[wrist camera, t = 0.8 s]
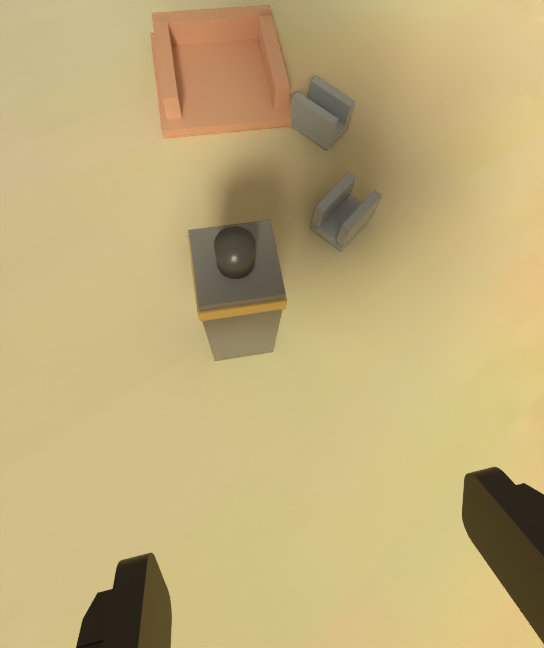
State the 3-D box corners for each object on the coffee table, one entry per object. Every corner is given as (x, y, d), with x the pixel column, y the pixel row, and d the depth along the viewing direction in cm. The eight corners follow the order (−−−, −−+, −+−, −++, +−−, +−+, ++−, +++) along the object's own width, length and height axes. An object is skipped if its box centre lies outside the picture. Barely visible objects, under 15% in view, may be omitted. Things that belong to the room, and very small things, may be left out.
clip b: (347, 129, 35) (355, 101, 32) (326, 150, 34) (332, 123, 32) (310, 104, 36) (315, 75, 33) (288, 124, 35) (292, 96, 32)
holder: (295, 125, 35) (299, 97, 32) (163, 138, 34) (156, 110, 31) (272, 32, 38) (274, 1, 36) (152, 41, 37) (145, 9, 35)
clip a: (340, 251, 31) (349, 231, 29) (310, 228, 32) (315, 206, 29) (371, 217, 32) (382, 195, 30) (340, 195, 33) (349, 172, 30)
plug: (213, 362, 28) (191, 295, 17) (205, 305, 29) (180, 208, 18) (274, 353, 28) (291, 281, 17) (264, 297, 30) (273, 197, 19)
